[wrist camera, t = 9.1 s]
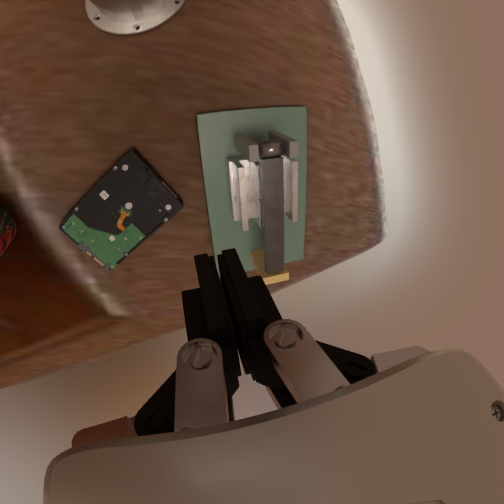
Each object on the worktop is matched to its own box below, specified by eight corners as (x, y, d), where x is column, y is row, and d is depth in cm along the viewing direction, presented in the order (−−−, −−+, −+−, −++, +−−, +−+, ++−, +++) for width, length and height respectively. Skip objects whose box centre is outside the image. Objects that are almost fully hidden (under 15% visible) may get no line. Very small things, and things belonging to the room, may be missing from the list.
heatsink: (225, 158, 35) (234, 168, 31) (285, 151, 36) (301, 160, 32) (231, 214, 39) (239, 231, 35) (286, 205, 41) (300, 221, 37)
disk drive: (132, 144, 32) (62, 220, 34) (129, 148, 30) (56, 229, 32) (183, 199, 38) (112, 264, 40) (185, 206, 36) (110, 274, 38)
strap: (256, 140, 30) (261, 143, 28) (278, 138, 30) (284, 141, 29) (262, 268, 39) (267, 275, 37) (281, 264, 39) (285, 271, 38)
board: (196, 114, 32) (203, 121, 25) (302, 105, 35) (333, 112, 28) (216, 272, 45) (227, 307, 39) (300, 255, 48) (322, 285, 41)
